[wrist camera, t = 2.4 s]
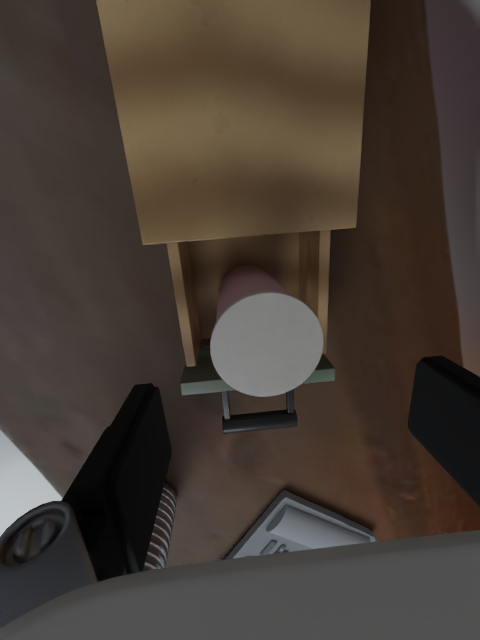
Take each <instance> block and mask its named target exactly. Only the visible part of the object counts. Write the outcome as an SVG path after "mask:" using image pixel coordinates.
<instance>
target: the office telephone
mask: <svg viewBox="0 0 480 640" xmlns="http://www.w3.org/2000/svg"><path fill="white" fill-rule="evenodd" d="M369 542H375V538H374V536H373V534H372V532H371V530H370V529H368V528H366V527H364V526H362V525H360V524H358V523H356V522H353V521H351V520H349V519H346V518H344V517H343V516H341V515H339V514H337V513H334V512H332V511H330V510H328V509H325V508H323V507H321V506H319V505H316V504H314V503H312V502H310V501H307V500H305V499H303V498H300V497H298V496H296V495H294V494H292V493H290V492H287V491H285V490H284V491H282V492H281V493H280V494H279V495H278V496H277V498H276V499H275V500H274V501H273V502H272V503H271V505H270V506H269V507H268V508H267V509H266V511H265V512H264V513H263V514H262V515H261V517H260V518H259V519H258V520H257V521H256V523H255V524H254V525H253V526H252V527H251V529H250V530H249V531H248V532H247V533H246V535H245V536H244V537H243V538H242V539H241V541H240V542H239V543H238V544H237V545H236V547H235V548H234V549H233V550H232V551H231V553H230V554H229V555H228V556H227V557H226V559H234V558H242V557H250V556H259V555H267V554H276V553H284V552H292V551H301V550H309V549H317V548H326V547H334V546H343V545H352V544H361V543H369Z"/></svg>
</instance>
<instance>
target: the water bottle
mask: <svg viewBox="0 0 480 640" xmlns="http://www.w3.org/2000/svg"><path fill="white" fill-rule="evenodd" d="M176 502H177V498H176V493H175V491H174V489H173V488H172V486H171V485H169V484H168V483H166V482H165V483H164V488H163V492H162V496H161V500H160V504H159V508H158V512H157V516H156V520H155V525H154V529H153V533H152V537H151V541H150V545H149V549H148V553H147V557H146V562H145V565H144V568H143V570H142V571H141V572H143V571H148V570H154V569H161V568H166V563H167V558H168V552H169V545H170V540H171V534H172V528H173V522H174V517H175V511H176ZM137 573H138V572H137Z"/></svg>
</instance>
